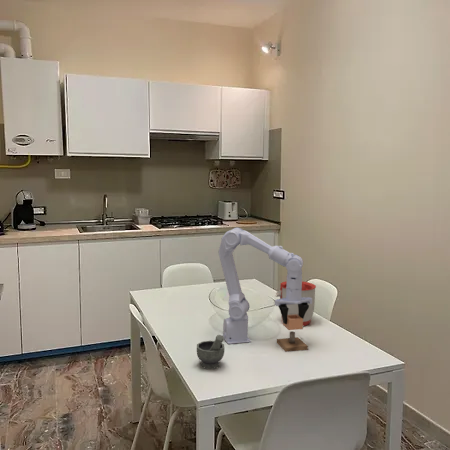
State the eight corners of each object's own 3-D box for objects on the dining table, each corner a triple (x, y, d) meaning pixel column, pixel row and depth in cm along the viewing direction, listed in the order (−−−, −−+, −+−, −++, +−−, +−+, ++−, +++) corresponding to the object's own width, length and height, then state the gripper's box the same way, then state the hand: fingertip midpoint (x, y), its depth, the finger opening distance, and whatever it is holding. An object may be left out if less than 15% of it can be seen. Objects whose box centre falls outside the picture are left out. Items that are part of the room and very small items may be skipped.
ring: (288, 330, 171) (289, 319, 170) (283, 325, 176) (283, 315, 176) (302, 329, 172) (303, 318, 172) (296, 324, 178) (297, 314, 177)
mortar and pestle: (190, 363, 158) (191, 330, 157) (212, 357, 164) (212, 324, 163) (210, 375, 150) (210, 340, 148) (232, 368, 155) (233, 334, 154)
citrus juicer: (273, 316, 210) (274, 273, 208) (311, 317, 210) (313, 274, 207) (276, 328, 195) (277, 282, 192) (317, 329, 194) (319, 283, 192)
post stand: (285, 351, 170) (285, 337, 169) (276, 342, 178) (276, 329, 178) (307, 349, 172) (308, 335, 172) (297, 340, 181) (298, 327, 180)
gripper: (279, 291, 167) (278, 327, 168) (316, 289, 171) (314, 324, 172) (272, 286, 173) (271, 321, 175) (308, 284, 177) (306, 318, 179)
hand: (292, 322), depth 174 cm, fingers closed on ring, 6 cm apart
